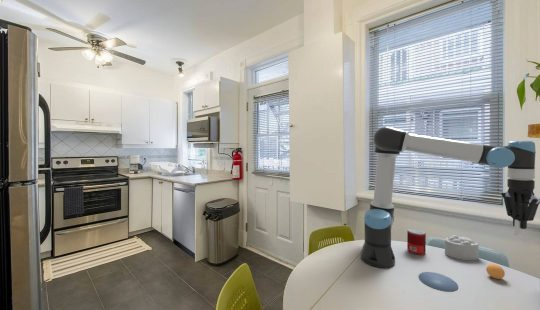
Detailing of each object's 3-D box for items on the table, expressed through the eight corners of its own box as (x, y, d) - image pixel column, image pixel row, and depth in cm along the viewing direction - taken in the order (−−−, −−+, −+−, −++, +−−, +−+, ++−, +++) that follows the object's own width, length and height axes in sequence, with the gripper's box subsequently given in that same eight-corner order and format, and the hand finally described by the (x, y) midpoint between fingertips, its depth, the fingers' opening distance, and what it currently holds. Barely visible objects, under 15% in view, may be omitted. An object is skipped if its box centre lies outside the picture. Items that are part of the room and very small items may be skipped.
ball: (482, 274, 98) (482, 261, 98) (494, 273, 98) (494, 261, 98) (495, 282, 92) (496, 268, 92) (508, 281, 93) (509, 268, 92)
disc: (411, 273, 100) (411, 272, 100) (440, 271, 101) (440, 271, 101) (434, 292, 87) (434, 291, 87) (467, 290, 88) (467, 289, 88)
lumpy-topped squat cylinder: (482, 259, 110) (482, 242, 109) (454, 260, 110) (455, 242, 110) (463, 249, 120) (464, 233, 120) (438, 250, 120) (439, 234, 120)
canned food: (428, 255, 115) (428, 234, 114) (410, 254, 116) (410, 233, 116) (421, 248, 122) (421, 228, 122) (405, 247, 124) (405, 227, 123)
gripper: (549, 180, 88) (547, 241, 89) (511, 176, 101) (510, 229, 102) (531, 181, 87) (529, 242, 88) (495, 176, 100) (494, 230, 101)
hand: (519, 235), depth 95 cm, fingers closed
